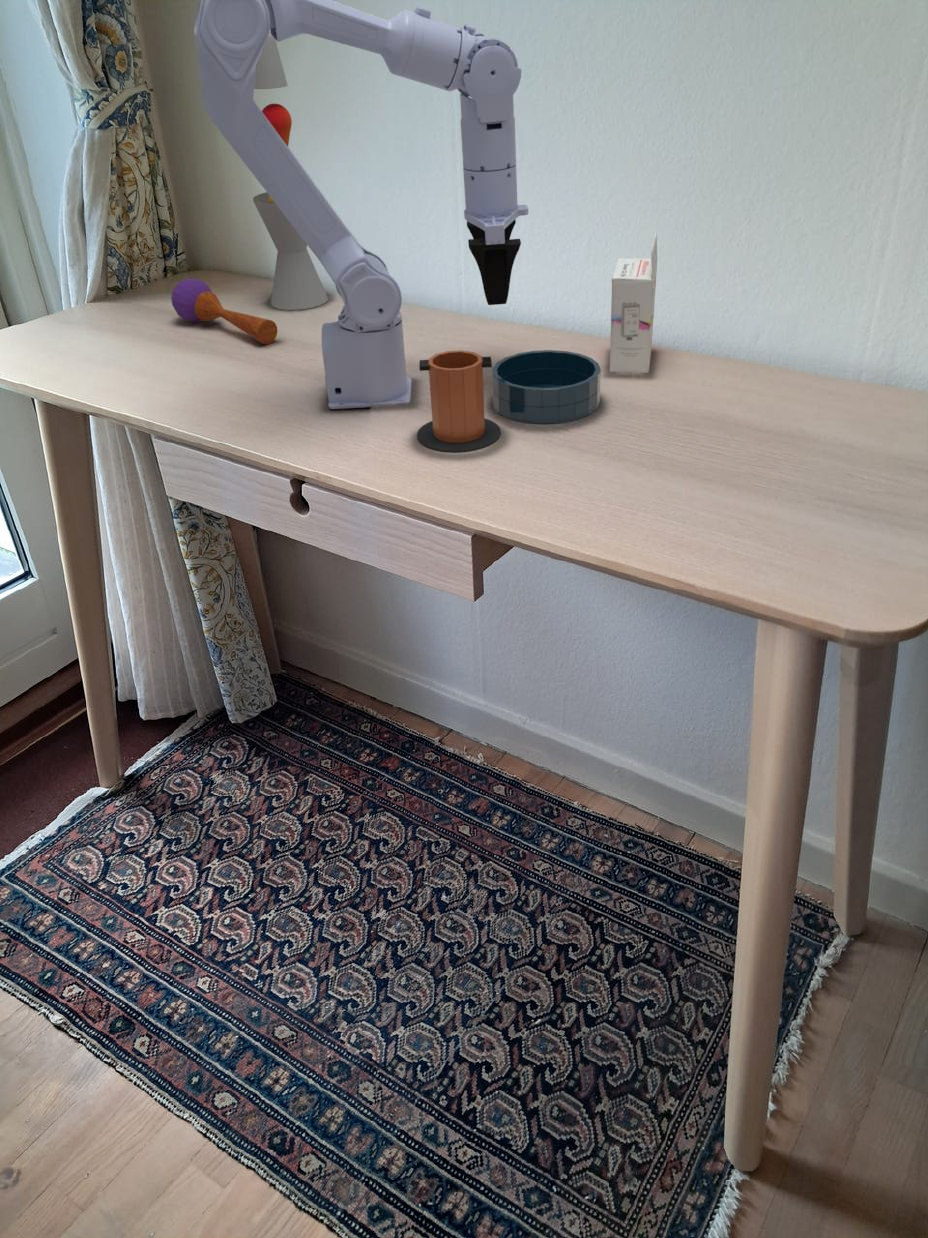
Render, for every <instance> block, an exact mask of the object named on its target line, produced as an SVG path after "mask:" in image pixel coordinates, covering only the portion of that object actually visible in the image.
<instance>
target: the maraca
mask: <svg viewBox="0 0 928 1238" xmlns="http://www.w3.org/2000/svg"><path fill="white" fill-rule="evenodd" d="M171 292H172V294H171V297H170V298H171V299H170V300H171V305H172V307H173V309H174V311H175V312H176V314H177V316H178V317H180V318H181V319H183V320H184V321H187V322H188V323H189V322H190V323H199V322H209V321H212V320H215V319H218V318H222V319H223V320H225V321H227V322H228V323H230V324H231V325H233V326H234V327H236V328H237V329H239V330H241V331H242V332H244V333H245V334H247V335H249V336H250V337H252V338H253V339H255V340H256V341H257V342H259V343H261V344H262V345H267V346H268V345H270V344H272V343H273V342H274V341H275V340H276V339H277V336H278V326H277V324H276V322H275V321H273V320H272V319H267V318H263V317H260V316H255V315H250V314H247V313H242V312H238V311H234V310H229V309H225V308H224V307H223V305H222V303H221V302H220V300H219V298H218V296H217V294H215V293H214V292H213V290H212V289H211V287H210V286H209V285H208V284H207V283H206V282H204V281H202V280H200V279H198V278H197V279H196V278H187V279H183V280H180V281H179V282H178V283H177V284H176V285H175V286H174V288H173V289H172V291H171Z"/></svg>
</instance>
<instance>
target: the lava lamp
mask: <svg viewBox="0 0 928 1238" xmlns="http://www.w3.org/2000/svg"><path fill="white" fill-rule="evenodd" d="M255 68H256V76H255V85H254V90H272V89H273V90H274V89H281V88H287V87H288V82H287V78H286V73H285V71H284V66H283V63H282V59H281V56H280V52H279V48H278V45H277V40H276V39H275V38H274V37H273V36H272V35H271V32H269V35H268V38H267V41H266V43H265V45H264V48H263V50H262V53H261V55H260V57H259V59H258V62H257V64H256V67H255ZM261 111H262V112H263V114H264V115H265V116H266V118H267V119H268V120H269V122H270V123H271V125H272V126H273V127H274V129H275V130H276V131H277V133H278V134H279V135H280V137H281V138H282V140H283V141H284V142H285V144H286V145H287V146H288V147H289V144H290V136H291V130H292V124H293V122H292V121H293V120H292V116H291V114H290V112H289V110H288V109H287V108H286V107H285V106H283V105H282V104H279V103H270V104H267V105H265V106H264V107H263V108H262V109H261ZM252 201H253V203H254V205H255V208H256V210H257V212H258V213H259V216H260V218H261V220H262V222H263V224H264V226H265V229H266V230H267V232H268V234H269V236H270V238H271V240H272V243H273V244H274V246H275V249H276V251H277V252H276V253H277V254H276V260H275V269H274V274H273V283H272V288H271V289H272V290H271V297H270V305H271V307H272V308H274V309H277V310H282V311H301V310H308V309H312V308H315V307H316V308H317V307H319V306H321V305H324V304H325V303H326V302H328V300H329V297H328V295H327V293H326V290H325V289H324V286H323V284H322V281H321V279H320V277H319V274H318V271H317V269H316V267H315V265H314V262H313V259H312V258H311V256H310V253H309V251H308V249H307V247H308V245H307V244H306V242H305V241H304V240H303V239H302V237H301V236H300V235H299V233H298V232H297V231H296V229H295V228H294V227H293V226H292V224H291V223H290V222H289V220H288V219H287V218H286V216H285V215H284V214H283V213H282V211H281V210H280V209H279V207H278V206H277V205H276V203H275V202H274V201H273V200H272V198H271V197H270V196H269V194H268V193H267V192H266V191H265V192H263V193H262V192H261V193H259V194H257V195H255V196H253V198H252Z"/></svg>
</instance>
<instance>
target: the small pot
mask: <svg viewBox="0 0 928 1238" xmlns="http://www.w3.org/2000/svg"><path fill="white" fill-rule="evenodd" d="M418 365H419V366H418V367H419V368H418V369H419V371H420V372H422V371H428V376H429V377H428V378H429V390H430V405H431V406H430V407H431V421H432V423H433V434H434V436H435V437H436V438H437V439H439V440H441V441H444V442H449V443H464V442H470V441H473V440H476V439H478V438H480V437H481V436H482V435H483V434H484V432H485V423H484V418H485V400H484V398H485V397H484V371H483V368H493V361H492V356H482V355H480V354H478V353H477V352H474V351H470V350H469V351H468V350H448V351H443V352H440V353H436V354H434V355H433V356H431V357H430V358H428V359H419V364H418Z"/></svg>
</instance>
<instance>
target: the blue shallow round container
mask: <svg viewBox="0 0 928 1238" xmlns="http://www.w3.org/2000/svg"><path fill="white" fill-rule="evenodd" d="M601 374H602V369H601V366H600V363H598V362H597V361H596V360H594V359H593V358H592V357H590V356H588V355H585V354H582V353H577V352H572V351H568V350H556V349H555V350H552V349H543V350H531V351H525V352H524V351H523V352H519V353H515V354H513V355H509V356H506V357H504V358H502V359H500V360H498V361H497V362H496V363H495V364H494V365H493V366H492V367H491V390H492V391H491V393H492V394H491V395H492V396H491V397H492V407H493V409H494V411H495V412H496V413H497V414H499V415H500V416H502V417H504V418H506V419H509V420H511V421H514V422H519V423H523V424H531V425H558V424H559V425H560V424H565V423H571V422H574V421H578V420H581V419H585V418H586V417H589V416H590V415H592V414H593V413H594V412H595V411H597V409H598V408H599V405H600V402H601V376H602V375H601Z"/></svg>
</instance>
